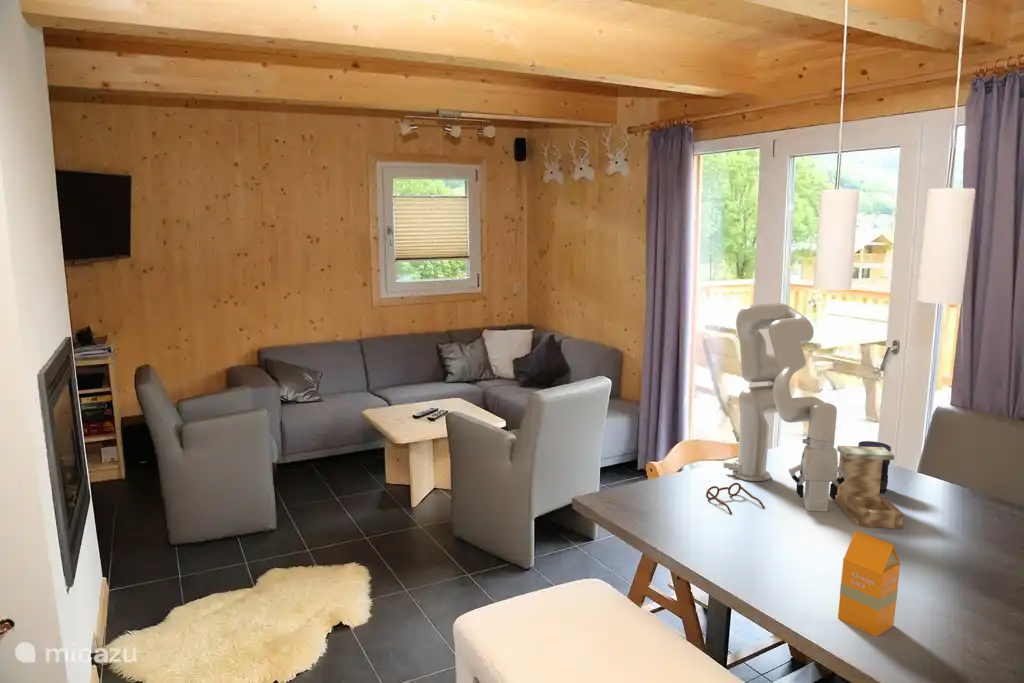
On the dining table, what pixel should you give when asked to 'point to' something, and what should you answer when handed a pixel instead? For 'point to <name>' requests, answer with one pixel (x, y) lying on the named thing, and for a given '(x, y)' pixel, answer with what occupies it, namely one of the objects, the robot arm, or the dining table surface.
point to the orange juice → (869, 584)
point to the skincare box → (816, 495)
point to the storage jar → (884, 465)
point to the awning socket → (865, 488)
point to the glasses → (729, 494)
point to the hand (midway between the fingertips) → (816, 496)
